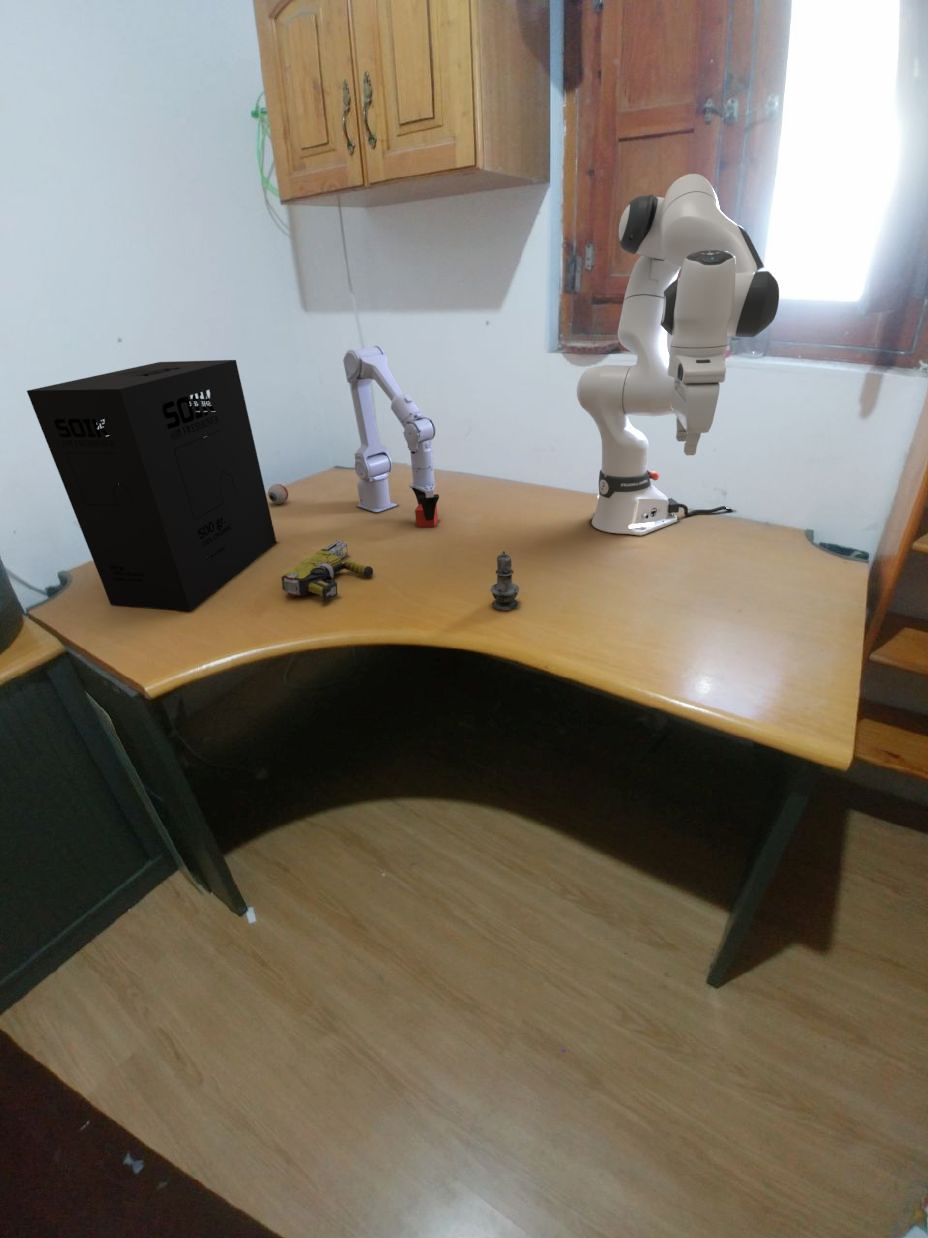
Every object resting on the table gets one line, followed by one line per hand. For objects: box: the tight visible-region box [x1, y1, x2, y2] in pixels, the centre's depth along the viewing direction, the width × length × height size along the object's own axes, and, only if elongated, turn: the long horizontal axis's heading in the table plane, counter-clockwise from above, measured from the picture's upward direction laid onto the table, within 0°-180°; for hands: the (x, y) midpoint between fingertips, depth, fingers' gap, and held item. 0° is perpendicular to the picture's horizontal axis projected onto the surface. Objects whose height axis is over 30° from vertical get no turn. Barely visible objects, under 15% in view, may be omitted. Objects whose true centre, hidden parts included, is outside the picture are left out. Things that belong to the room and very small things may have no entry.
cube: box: [414, 503, 439, 528], centre depth 166 cm, size 5×5×5 cm
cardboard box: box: [26, 359, 277, 612], centre depth 135 cm, size 38×20×45 cm, turn 167°
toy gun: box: [281, 539, 374, 603], centre depth 138 cm, size 5×24×15 cm
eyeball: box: [267, 483, 289, 505], centre depth 187 cm, size 6×6×6 cm
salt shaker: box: [490, 550, 520, 611], centre depth 121 cm, size 6×6×12 cm
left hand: (426, 515), depth 166 cm, fingers open, 7 cm apart
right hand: (685, 447), depth 108 cm, fingers open, 8 cm apart
